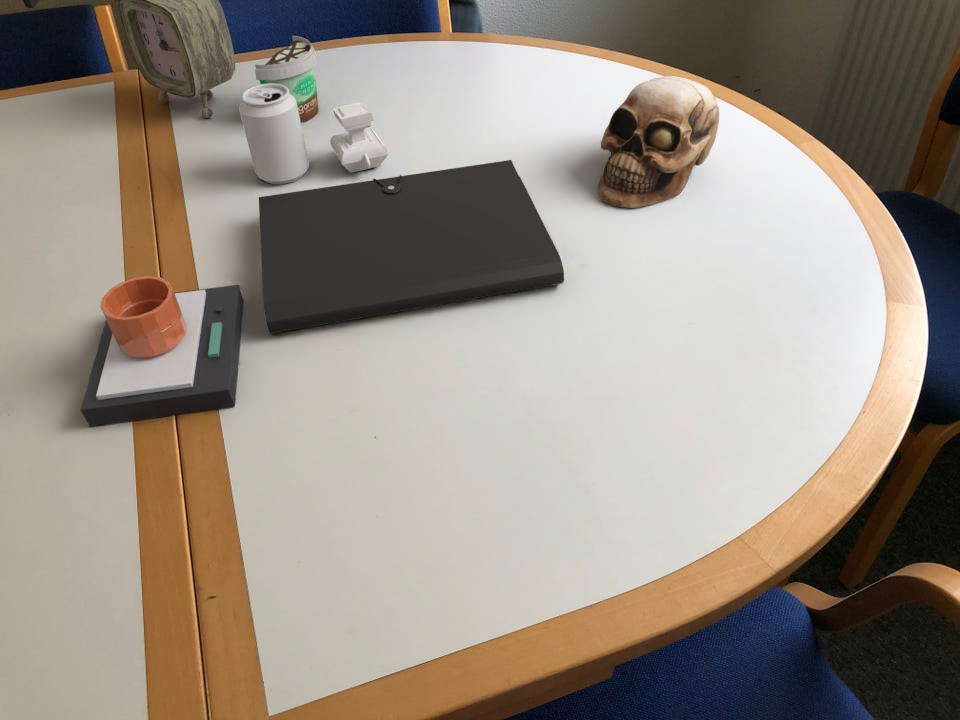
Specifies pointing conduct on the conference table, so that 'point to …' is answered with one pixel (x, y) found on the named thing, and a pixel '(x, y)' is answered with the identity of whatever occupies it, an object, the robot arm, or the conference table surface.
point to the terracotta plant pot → (144, 316)
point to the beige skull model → (657, 141)
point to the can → (274, 133)
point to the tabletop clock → (180, 45)
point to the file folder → (401, 245)
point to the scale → (172, 365)
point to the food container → (294, 75)
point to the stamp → (357, 139)
